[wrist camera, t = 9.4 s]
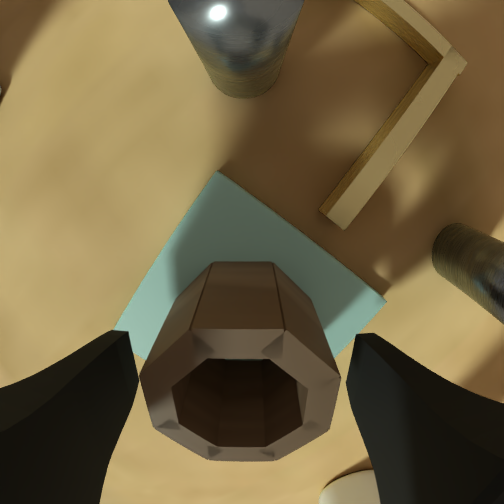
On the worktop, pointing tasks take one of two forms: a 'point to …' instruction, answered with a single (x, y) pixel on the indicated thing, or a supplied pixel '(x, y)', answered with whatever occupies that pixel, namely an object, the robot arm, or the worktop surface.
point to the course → (385, 141)
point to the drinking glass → (352, 489)
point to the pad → (247, 249)
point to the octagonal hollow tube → (241, 366)
